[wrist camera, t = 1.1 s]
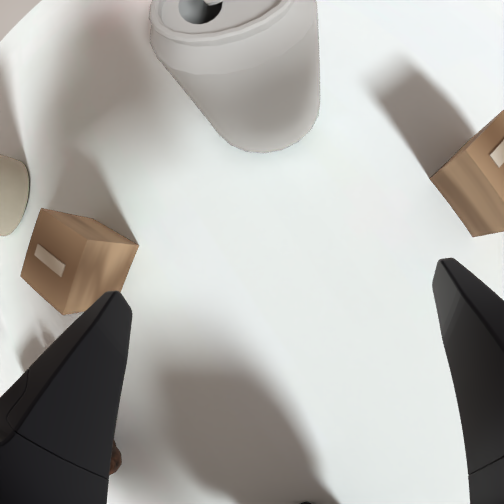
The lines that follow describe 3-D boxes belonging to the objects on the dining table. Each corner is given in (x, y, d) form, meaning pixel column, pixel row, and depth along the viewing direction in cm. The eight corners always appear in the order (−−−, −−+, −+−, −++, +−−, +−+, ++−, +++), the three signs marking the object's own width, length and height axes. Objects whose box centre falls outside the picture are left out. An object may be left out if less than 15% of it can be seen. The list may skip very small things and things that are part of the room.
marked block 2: (115, 305, 23) (61, 315, 17) (72, 274, 24) (18, 275, 18) (139, 245, 22) (86, 239, 16) (93, 218, 23) (39, 207, 17)
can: (204, 87, 22) (127, -19, 10) (297, 55, 21) (275, -72, 9) (230, 172, 21) (142, 83, 9) (336, 138, 20) (350, 13, 8)
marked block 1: (472, 237, 18) (520, 228, 12) (429, 178, 19) (466, 149, 13) (510, 193, 17) (557, 174, 11) (469, 139, 18) (509, 104, 12)
